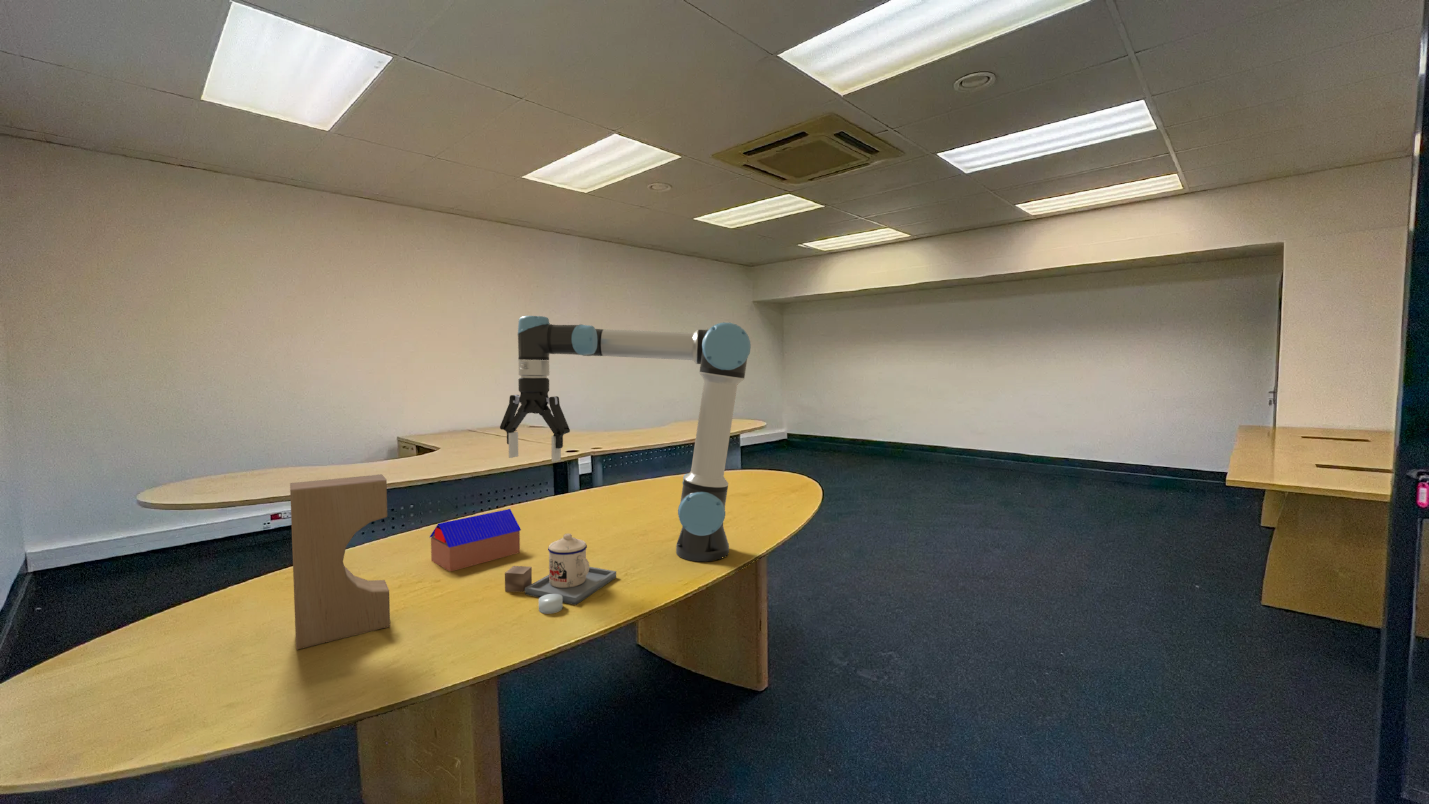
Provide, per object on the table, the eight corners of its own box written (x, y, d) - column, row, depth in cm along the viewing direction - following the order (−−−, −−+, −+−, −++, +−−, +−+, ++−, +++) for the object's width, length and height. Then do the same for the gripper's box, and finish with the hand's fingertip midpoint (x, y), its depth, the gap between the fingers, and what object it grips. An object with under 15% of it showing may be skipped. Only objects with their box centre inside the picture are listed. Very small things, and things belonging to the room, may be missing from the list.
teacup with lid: (540, 582, 130) (540, 535, 129) (570, 571, 137) (570, 526, 137) (572, 595, 123) (572, 545, 122) (602, 583, 130) (602, 536, 130)
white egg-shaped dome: (567, 606, 119) (567, 596, 119) (552, 616, 115) (552, 605, 114) (548, 602, 121) (548, 592, 121) (533, 611, 116) (533, 601, 116)
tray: (616, 577, 135) (616, 571, 135) (575, 605, 120) (575, 598, 120) (569, 569, 140) (569, 563, 140) (524, 594, 125) (524, 587, 125)
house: (521, 553, 152) (521, 512, 152) (449, 573, 137) (448, 528, 136) (500, 543, 160) (499, 505, 159) (429, 561, 145) (428, 519, 144)
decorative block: (296, 650, 99) (290, 490, 97) (295, 634, 105) (289, 482, 103) (390, 627, 108) (386, 480, 106) (385, 613, 114) (381, 473, 112)
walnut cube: (531, 584, 130) (531, 566, 130) (523, 592, 126) (523, 573, 126) (513, 583, 131) (513, 565, 131) (504, 591, 126) (504, 572, 126)
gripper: (485, 376, 139) (486, 457, 140) (565, 378, 130) (565, 465, 132) (505, 375, 146) (506, 453, 147) (583, 377, 137) (583, 460, 139)
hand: (534, 459), depth 139 cm, fingers open, 13 cm apart
